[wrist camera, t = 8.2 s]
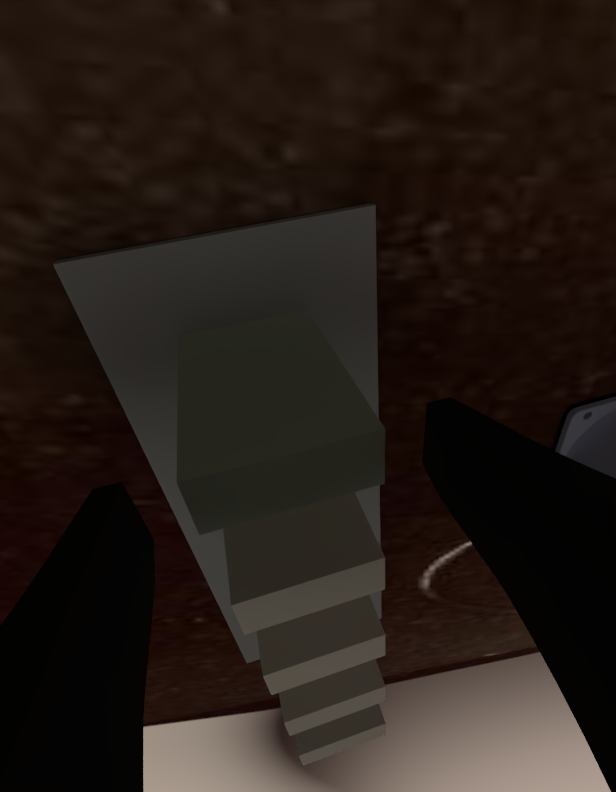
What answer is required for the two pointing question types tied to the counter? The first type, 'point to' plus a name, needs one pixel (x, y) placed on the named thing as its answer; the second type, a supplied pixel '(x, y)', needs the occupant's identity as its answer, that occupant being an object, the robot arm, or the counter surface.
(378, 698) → the domino
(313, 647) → the domino
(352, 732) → the domino
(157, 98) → the counter surface
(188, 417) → the domino
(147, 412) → the mat
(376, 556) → the domino
